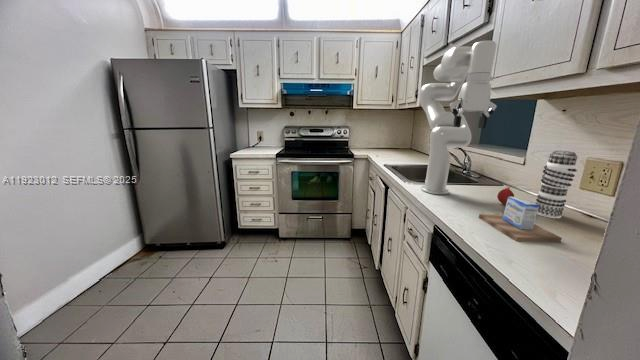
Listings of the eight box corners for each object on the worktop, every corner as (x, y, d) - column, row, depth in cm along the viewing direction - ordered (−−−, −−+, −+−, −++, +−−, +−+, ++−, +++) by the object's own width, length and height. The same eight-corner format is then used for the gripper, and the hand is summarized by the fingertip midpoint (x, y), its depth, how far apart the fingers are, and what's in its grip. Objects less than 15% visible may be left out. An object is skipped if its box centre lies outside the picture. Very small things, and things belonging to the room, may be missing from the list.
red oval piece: (496, 205, 108) (500, 187, 106) (494, 201, 113) (498, 184, 111) (513, 208, 105) (517, 189, 103) (510, 204, 110) (514, 186, 108)
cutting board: (478, 217, 94) (479, 213, 93) (514, 218, 94) (515, 214, 94) (516, 241, 76) (517, 237, 76) (560, 242, 77) (562, 237, 76)
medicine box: (501, 219, 89) (507, 196, 87) (514, 219, 89) (519, 196, 87) (519, 229, 81) (526, 204, 79) (533, 229, 81) (540, 204, 79)
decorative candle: (555, 212, 102) (573, 150, 96) (567, 220, 94) (588, 154, 88) (528, 208, 105) (543, 149, 99) (537, 216, 97) (555, 152, 91)
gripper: (493, 81, 95) (484, 127, 100) (449, 79, 95) (441, 126, 99) (508, 79, 88) (498, 128, 93) (460, 77, 88) (452, 127, 92)
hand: (469, 127), depth 96 cm, fingers open, 9 cm apart
